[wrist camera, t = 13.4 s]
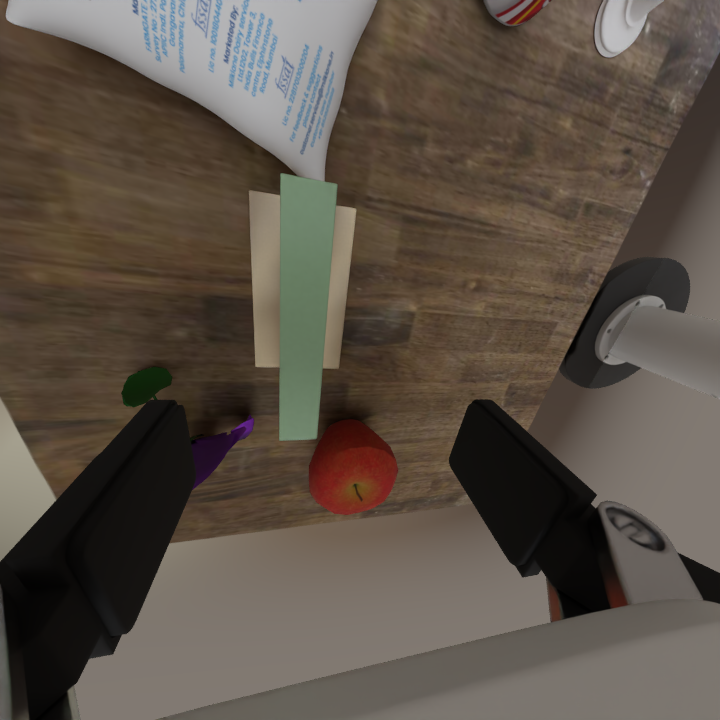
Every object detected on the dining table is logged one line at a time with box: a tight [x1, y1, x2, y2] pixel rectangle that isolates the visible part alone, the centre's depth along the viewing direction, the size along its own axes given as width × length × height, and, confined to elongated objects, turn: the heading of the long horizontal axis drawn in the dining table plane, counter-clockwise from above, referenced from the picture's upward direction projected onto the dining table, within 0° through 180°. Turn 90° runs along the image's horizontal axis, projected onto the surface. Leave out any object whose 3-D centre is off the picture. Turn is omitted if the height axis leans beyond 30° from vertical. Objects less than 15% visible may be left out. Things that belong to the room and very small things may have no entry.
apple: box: [309, 419, 398, 515], centre depth 34 cm, size 11×11×12 cm
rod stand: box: [249, 190, 356, 369], centre depth 25 cm, size 10×18×10 cm, turn 172°
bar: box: [279, 173, 338, 441], centre depth 19 cm, size 3×18×4 cm, turn 172°
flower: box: [121, 367, 254, 490], centre depth 28 cm, size 15×15×14 cm
